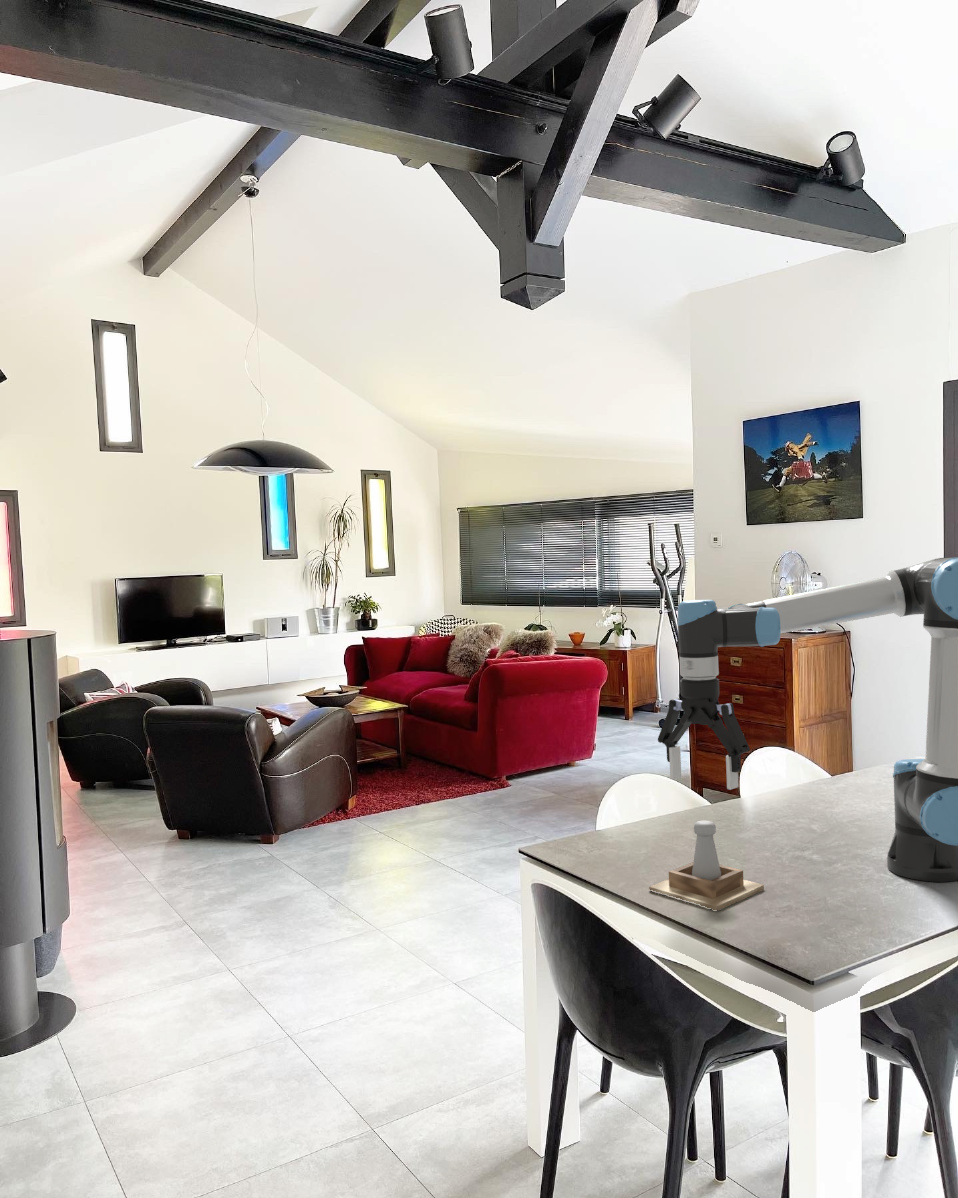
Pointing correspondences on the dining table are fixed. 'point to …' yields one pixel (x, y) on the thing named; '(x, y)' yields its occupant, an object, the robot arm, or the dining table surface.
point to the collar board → (708, 887)
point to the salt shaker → (705, 852)
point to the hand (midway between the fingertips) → (703, 783)
